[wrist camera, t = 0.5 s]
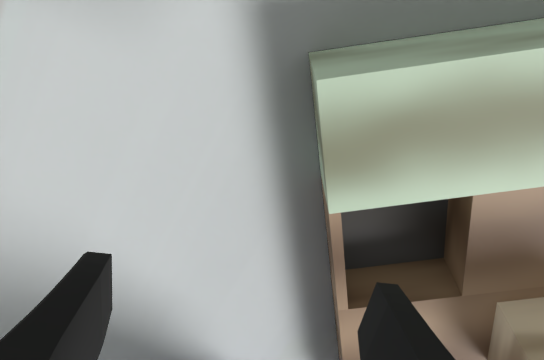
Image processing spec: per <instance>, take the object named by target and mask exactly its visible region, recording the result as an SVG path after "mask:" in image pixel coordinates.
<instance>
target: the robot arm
mask: <svg viewBox="0 0 544 360" xmlns="http://www.w3.org/2000/svg"><path fill="white" fill-rule="evenodd" d="M111 312H112V254H104V253H95V252H86V253H85V254H83V256H82V257H81V258H80V259H79V260H78V262H77V263H76V264H75V265H74V266H73V267H72V269H71V270H70V271H69V272H68V273H67V274H66V275H65V276H64V278H63V279H62V280H61V281H60V282H59V283H58V284H57V285H56V286H55V287H54V288H53V290H52V291H51V292H50V293H49V294H48V295H47V296H46V297H45V298H44V299H43V300H42V301H41V302H40V303H39V304H38V305H37V306H36V307H35V308H34V309H33V310H32V311H31V312H30V313H29V314H28V315H27V316H26V317H25V318H24V319H23V320H22V321H20V322H19V323H18V324H17V325H16V326H15V327H14V328H13V329H12V330H11V331H10V332H9V333H7V334H6V335H5V336H4V337H3V338H2V339H1V340H0V360H97V359H98V356H99V354H100V351H101V348H102V346H103V342H104V339H105V335H106V331H107V327H108V323H109V319H110V316H111ZM357 333H358V343H359V353H360V360H456V359H455V358H454V357H453V356H452V355H451V353H450V352H449V351H448V350H447V349H446V347H445V346H444V345H443V344H442V342H441V341H440V340H439V339H438V337H437V336H436V335H435V333H434V332H433V331H432V330H431V328H430V327H429V326H428V324H427V323H426V322H425V320H424V319H423V318H422V316H421V315H420V314H419V312H418V311H417V310H416V308H415V307H414V306H413V304H412V303H411V301H410V300H409V299H408V297H407V296H406V295H405V293H404V292H403V291H402V289H401V288H400V287H399V285H398V284H389V283H380V282H377V283H376V285H375V288H374V290H373V293H372V295H371V298H370V300H369V303H368V306H367V308H366V311H365V313H364V316H363V318H362V321H361V323H360V326H359V328H358V331H357Z"/></svg>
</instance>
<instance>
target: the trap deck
mask: <svg viewBox="0 0 544 360" xmlns="http://www.w3.org/2000/svg"><path fill="white" fill-rule="evenodd" d="M309 61H310V71H311V81H312V91H313V101H314V111H315V121H316V131H317V141H318V151H319V161H320V171H321V181H322V191H323V201H324V211H325V221H326V231H327V241H328V251H329V261H330V271H331V281H332V291H333V301H334V311H335V321H336V331H337V341H338V351H339V360H360V353H359V343H358V333H357V331H358V328H359V326H360V323H361V321H362V318H363V316H364V313H365V311H366V308H367V306H368V303H369V300H370V298H371V295H372V293H373V290H374V288H375V285H376V283H377V282H380V283H389V284H398V285H399V287H400V288H401V289H402V291H403V292H404V293H405V295H406V296H407V297H408V299H409V300H410V301H411V303H412V304H413V306H414V307H415V308H416V310H417V311H418V312H419V314H420V315H421V316H422V318H423V319H424V320H425V322H426V323H427V324H428V326H429V327H430V328H431V330H432V331H433V332H434V333H435V335H436V336H437V337H438V339H439V340H440V341H441V342H442V344H443V345H444V346H445V347H446V349H447V350H448V351H449V352H450V353H451V355H452V356H453V357H454V358H455V359H456V360H487V358H488V352H489V346H490V341H491V335H492V329H493V323H494V317H495V311H496V305H497V302H506V301H514V300H523V299H531V298H540V297H544V18H542V19H535V20H528V21H521V22H514V23H507V24H501V25H494V26H487V27H480V28H473V29H466V30H459V31H453V32H446V33H439V34H432V35H425V36H418V37H412V38H405V39H398V40H391V41H384V42H377V43H371V44H364V45H357V46H350V47H343V48H336V49H329V50H323V51H316V52H309Z"/></svg>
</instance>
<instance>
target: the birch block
mask: <svg viewBox="0 0 544 360" xmlns="http://www.w3.org/2000/svg"><path fill="white" fill-rule="evenodd" d="M487 360H544V297H540V298H531V299H523V300H514V301H506V302H497V305H496V311H495V317H494V323H493V329H492V335H491V341H490V346H489V352H488V358H487Z"/></svg>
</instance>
